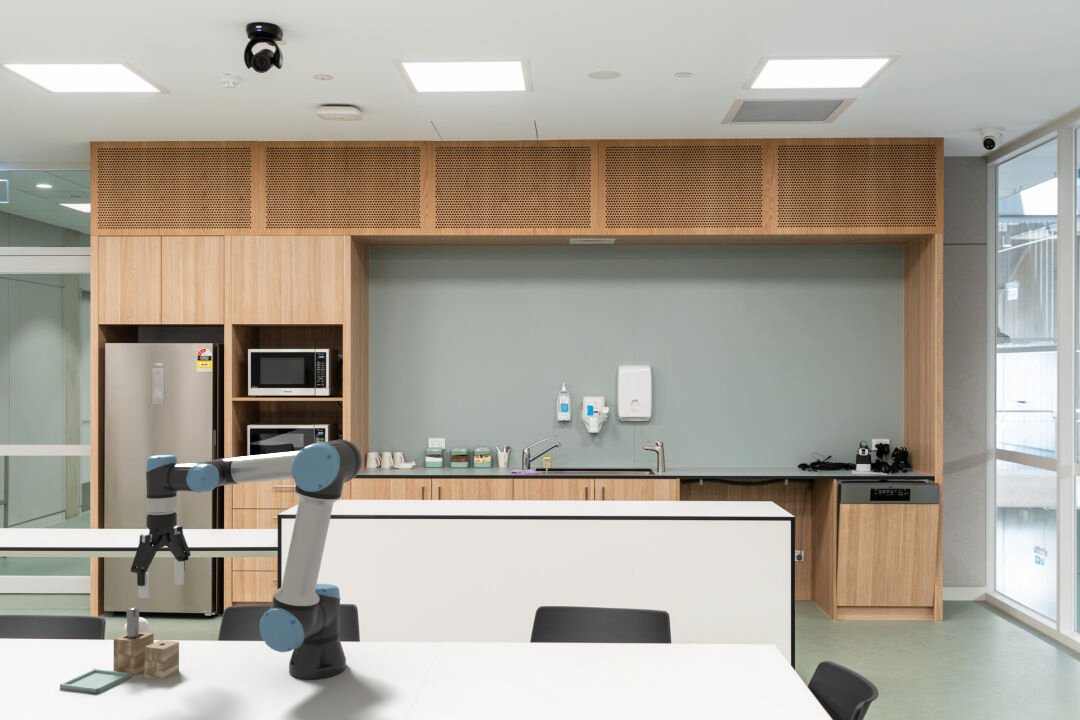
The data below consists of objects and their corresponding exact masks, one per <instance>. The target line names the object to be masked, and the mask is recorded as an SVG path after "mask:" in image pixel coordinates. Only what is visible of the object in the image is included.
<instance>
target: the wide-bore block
mask: <svg viewBox="0 0 1080 720" xmlns="http://www.w3.org/2000/svg"><path fill="white" fill-rule="evenodd" d="M154 639H155V634H154V632H153V633H152V632H148V633H146V632H139V638H136V639H128V638H127V634H125V635H124V634H123V635H120V636H118V637H115V638H113V671H119V672H127V673H131V675H138V674H140V673H142V672H143V671H144V672H145V647H146V646H148V645H151V644H153V643H155V642H154Z"/></svg>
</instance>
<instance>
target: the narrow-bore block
mask: <svg viewBox="0 0 1080 720" xmlns="http://www.w3.org/2000/svg"><path fill="white" fill-rule="evenodd" d="M179 671H180V641H175V640H164V639H160V640H157V641H155V642H154V643H153V644H151V645H148V646H146V647H145V670H144V678H151V679H160V680H165V679H166V678H168V677H170V676H172V675H174V674H177V673H178V672H179Z"/></svg>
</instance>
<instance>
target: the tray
mask: <svg viewBox="0 0 1080 720" xmlns="http://www.w3.org/2000/svg"><path fill="white" fill-rule="evenodd" d="M131 675H132V674H131V673H127V672H119V671H114V670H110V669H109V670H108V669H100V668H94V669H91V670H90V671H87V672H85V673H83V674H81V675H79V676H76V677H74V678H71V679H69V680H67V681H65V682H62V683H61V684H59V690H65V691H71V692H79V693H88V694H95V695H96V694H97V695H98V694H100V693H101V692H104V691H106V690H109V689H110V688H112V687H114V686H116V685H118V684H120V683H122V682H125V681H126V680H128V679H130V678H132V676H131Z"/></svg>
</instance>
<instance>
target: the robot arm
mask: <svg viewBox="0 0 1080 720" xmlns="http://www.w3.org/2000/svg"><path fill="white" fill-rule="evenodd" d="M362 465H363V456H362V452H361V451H360V449H359V447H358V446H357V445H355V444H354V443H353V442H351V441H350V440H346V439H335V440H329V441H323V442H322V441H320V442H315V443H311V444H309V445H307V446H304V447H303V448H302V449H300V450H294V451H293V450H292V451H283V452H273V453H271V452H270V453H265V454H254V455H252V454H251V455H245V456H243V455H242V456H237V457H236V456H235V457H233V456H230V457H229V456H227V457H222V458H218V459H212V460H206V461H205V460H204V461H200V462H199V461H198V462H195V463H194V462H192V463H191V462H190V463H187V462H186V463H185V462H183V463H180V462H178V459H177V456H176V455H173V454H160V455H159V454H158V455H151V456H148V458H147V460H146V469H145V479H146V481H145V482H146V512H147V514H146V516H145V517H146V521H145V522H146V528H147V529H149V532H148V534H140V536H139V542H138V543H139V544H138V546H137V549H136V553H135V555H134V558H133V561H132V565H131V568H130V573H134V574H136V577H137V578H136V580H137V582H136V584H137V587H138V590H137V593H138V595H137V596H138V598H139V599H140V598H141V599H150V598H149V597H150V572H147V571H148V569H149V567H150V566H151V564H152V562H153V560H154V558H155V556H156V554H157V552H158V551H160V549H162V548H164V547H167V549H169V552H171V554H172V555H173V557H174V558H175V559H176V560H174V561H173V585H175V586H184V585H185V570H186V563H185V562H186V561H187V562H188V560H189V559H190V558H189V557H191V551H190V549H189V546H188V542H187V541H186V537H185V535H184V530H183V529H184V528H183V526H181V525H177V524H178V522H177V521H178V513H177V512H176V511H177V510H178V495H177V494H178V493H177V492H193V493H205V492H206V493H208V492H212V491H214V490H215V488H216V487H221V486H229V485H240V484H251V483H260V482H270V481H283V480H292V479H293V480H294V482H293V483H294V484H295V487H294V492H295V494H296V495H297V497H298V498H299V499H298V505H297V510H296V514H295V520H294V524H293V527H292V528H293V529H292V534H291V539H290V543H289V548H288V553H287V559H286V563H285V567H284V573H283V578H282V583H281V586H280V587H279V588H278V589H276V590H275V591H274V593H273V595H272V601H271V606H270V608H269V609H268V610H266V612H265V613H264V614H263V615H262V616H261V618H260V621H259V627H258V628H259V632H260V636H261V638H262V640H264V641H263V642H264V643H265V644H266V646H267V647H269V648H270V649H271V650H273V651H275V652H278V653H288V652H290V651H292V654H291V656H290V660H289V665H288V672H289V674H290V676H292V677H294V678H298V679H303V680H316V679H319V680H320V679H325V678H329V677H334V676H337V675H339V674H341V673H342V672H344V671H345V670H346V668H347V657H346V655H345V651H344V649H343V645H342V643H341V639H340V633H341V632H340V630H341V629H340V628H341V626H340V624H341V623H340V622H341V620H340V619H341V616H340V615H341V596H340V595H341V594H340V588H339V587H338V586H337V585H334V584H328V583H318V579H319V576H320V575H319V574H320V569H321V564H322V560H323V559H322V558H323V554H324V550H325V545H326V540H327V535H328V531H329V526H330V522H331V516H332V512H333V505H334V503H336V502H338V501H339V500H341V499H342V498H341V497H342V494H343V493H342V492H343V488H344V484H345V483H348V482H350V481H351V480H353V479H355V478H356V477H357V475H359V473H360V471H361V469H362Z"/></svg>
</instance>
